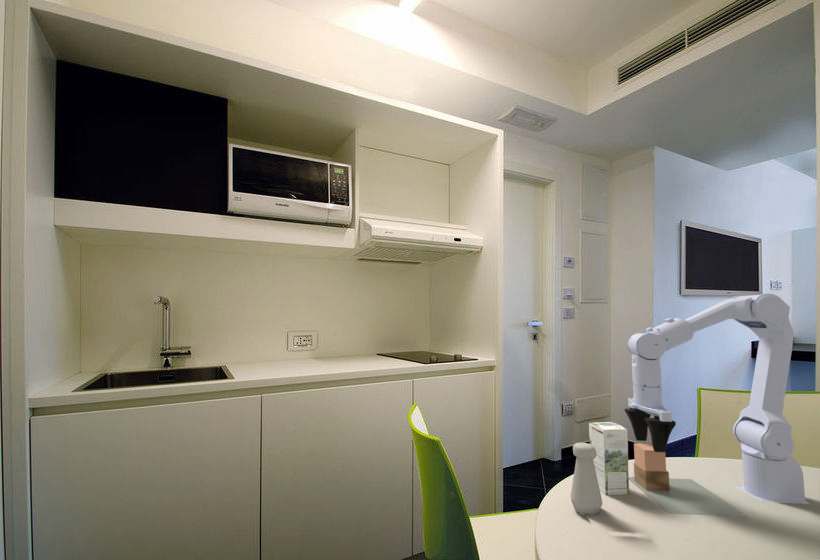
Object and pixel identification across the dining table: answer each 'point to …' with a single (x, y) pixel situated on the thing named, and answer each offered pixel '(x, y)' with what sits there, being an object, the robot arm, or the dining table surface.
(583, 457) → the salt shaker
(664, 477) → the walnut block
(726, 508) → the slate board
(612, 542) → the dining table surface
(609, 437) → the syrup box
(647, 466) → the terracotta cube
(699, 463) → the dining table surface
